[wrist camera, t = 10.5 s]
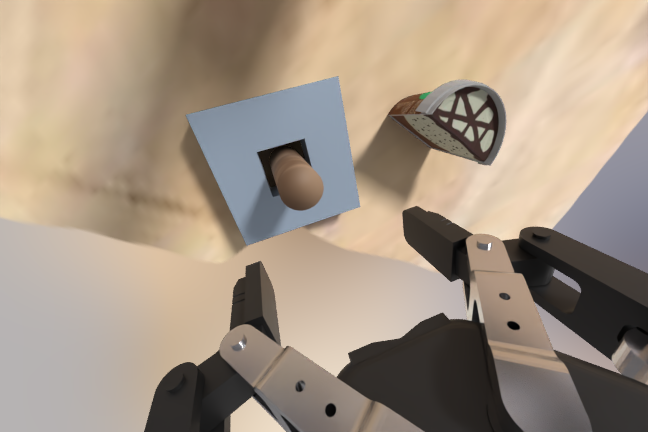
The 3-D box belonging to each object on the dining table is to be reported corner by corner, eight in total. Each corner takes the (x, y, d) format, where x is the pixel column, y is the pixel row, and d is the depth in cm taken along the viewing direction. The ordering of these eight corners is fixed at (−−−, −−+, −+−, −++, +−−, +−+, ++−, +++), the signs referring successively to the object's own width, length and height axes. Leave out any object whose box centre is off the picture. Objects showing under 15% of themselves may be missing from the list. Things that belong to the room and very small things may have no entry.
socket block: (327, 79, 29) (338, 76, 25) (349, 196, 36) (360, 206, 33) (193, 113, 27) (185, 114, 23) (247, 231, 34) (246, 245, 31)
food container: (461, 116, 36) (528, 120, 27) (436, 152, 37) (492, 167, 29) (405, 63, 31) (467, 48, 22) (379, 109, 32) (427, 111, 23)
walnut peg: (294, 141, 31) (317, 161, 20) (302, 170, 33) (327, 202, 22) (264, 150, 30) (272, 175, 20) (274, 179, 32) (286, 216, 22)
